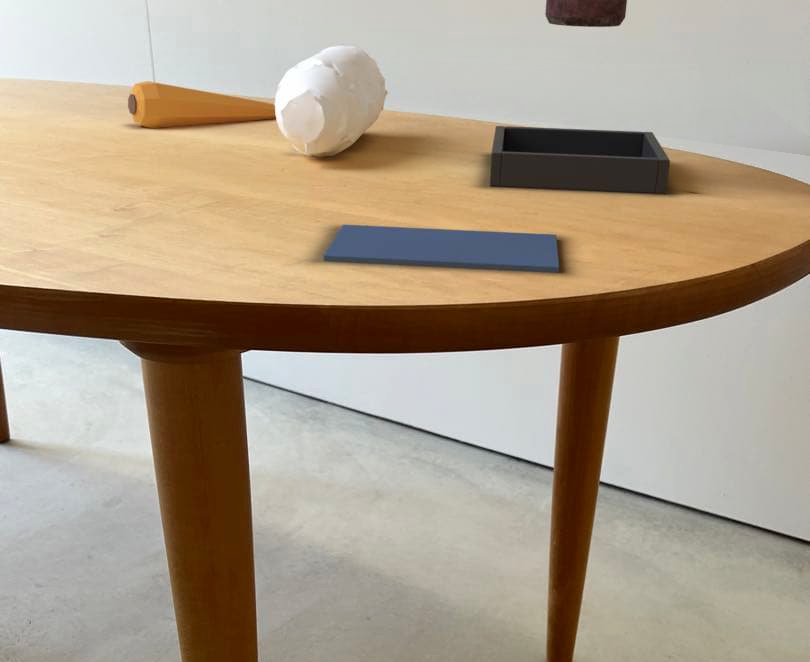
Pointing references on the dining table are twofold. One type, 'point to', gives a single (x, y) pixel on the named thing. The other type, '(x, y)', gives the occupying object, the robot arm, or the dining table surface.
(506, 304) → the dining table surface
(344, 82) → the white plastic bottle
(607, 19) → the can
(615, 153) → the dark grey open box
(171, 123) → the carrot
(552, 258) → the blue-grey flat slab
